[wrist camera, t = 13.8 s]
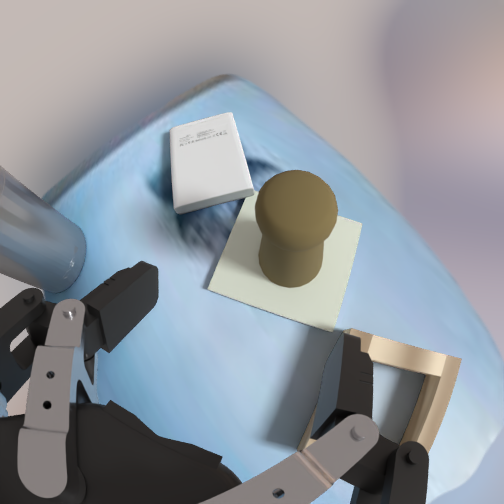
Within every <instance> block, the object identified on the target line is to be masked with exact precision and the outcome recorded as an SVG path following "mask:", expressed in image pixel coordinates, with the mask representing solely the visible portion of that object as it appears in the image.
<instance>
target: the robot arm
mask: <svg viewBox="0 0 504 504" xmlns="http://www.w3.org/2000/svg"><path fill="white" fill-rule="evenodd" d="M85 255H86V241H85V237H84V234H83V232H82V230H81V229H80V228H79V227H78V226H77V225H76V224H74V223H73V222H72V221H70V220H69V219H67V218H66V217H65V216H63V215H62V214H61V213H59V212H58V211H57V210H55V209H54V208H53V207H51V206H50V205H49V204H47V203H46V202H45V201H44V200H42V199H41V198H40V197H38V196H37V195H36V194H34V193H33V192H32V191H31V190H29V189H28V188H27V187H26V186H24V185H23V184H22V183H21V182H19V181H18V180H17V179H16V178H14V177H13V176H12V175H11V174H10V173H8V172H7V171H6V170H5V169H4V168H2V167H1V166H0V273H1V274H4V275H6V276H9V277H11V278H14V279H16V280H19V281H21V282H24V283H27V284H29V285H32V286H34V287H37V288H40V289H43V290H46V291H49V292H52V293H59V292H62V291H64V290H66V289H67V288H69V287H70V286H71V285H72V284H73V283H74V281H75V280H76V279H77V277H78V275H79V273H80V271H81V269H82V266H83V264H84V260H85ZM157 300H158V268H157V267H156V266H154V265H151V264H149V263H146V262H144V261H140V262H138V263H137V264H136V265H134V266H133V267H132V268H126V269H123V270H120V271H118V272H116V273H115V274H114V275H112V276H111V277H110V279H109V278H108V279H107V280H106V281H104V283H103V284H100V285H99V286H98V287H97V288H95V289H94V290H93V291H91V292H90V293H89V294H88V295H86V296H85V297H84V298H82V299H81V300H80V301H79V300H77V299H66V300H63V301H61V302H59V303H58V304H55V303H51V302H48V301H45V300H44V297H43V293H42V292H41V290H39V289H36V288H28V289H25V290H23V291H22V292H21V293H19V294H18V295H17V296H15V297H14V298H13V299H11V300H10V301H9V302H8V303H6V304H5V305H4V306H3V307H2V308H0V504H310V503H311V502H312V501H314V500H315V499H316V498H318V497H319V496H320V495H322V494H323V493H324V492H325V491H327V490H328V489H329V488H330V487H331V486H332V485H333V483H334V482H335V481H336V480H337V479H339V478H340V479H342V480H344V481H346V482H348V483H350V484H352V485H354V490H353V494H352V498H351V501H350V504H425V503H426V494H427V483H428V468H429V456H428V453H427V450H426V449H425V447H424V446H423V445H422V444H420V443H418V442H415V441H407V442H405V443H403V444H402V445H398V444H396V443H394V442H392V441H390V440H388V439H386V438H384V437H383V436H381V435H380V434H379V430H378V427H377V425H376V424H375V422H374V421H373V420H372V408H373V363H372V360H371V358H370V356H369V354H368V353H365V352H362V351H361V338H360V337H357V336H354V335H350V334H347V333H342V334H341V335H340V337H339V339H338V341H337V343H336V345H335V347H334V348H333V350H332V352H331V354H330V356H329V358H328V360H327V362H326V365H325V368H324V372H323V377H322V383H321V388H320V393H319V398H318V403H317V408H316V413H315V418H314V422H313V427H312V431H311V435H310V439H314V440H317V441H315V442H314V443H312V444H311V445H309V446H308V447H307V448H305V449H303V450H300V451H298V452H296V453H294V454H292V455H291V456H289V457H288V458H286V459H285V460H283V461H281V462H280V463H278V464H276V465H275V466H273V467H271V468H270V469H268V470H266V471H264V472H263V473H261V474H259V475H257V476H255V477H254V478H252V479H250V480H248V481H246V482H244V483H242V482H241V481H240V480H239V478H238V477H237V476H236V475H235V474H234V473H233V472H232V471H231V470H230V469H229V468H227V467H226V466H225V465H223V464H222V463H221V460H222V456H220V455H217V454H215V453H212V452H210V451H207V450H205V449H202V448H200V447H198V446H195V445H193V444H189V443H185V442H180V441H176V440H171V439H167V438H163V437H160V436H158V435H156V434H155V433H154V432H153V431H152V430H151V429H149V428H148V427H147V426H146V425H145V424H144V423H143V422H142V421H141V420H140V419H138V418H137V417H136V416H135V415H134V414H132V413H131V412H129V411H127V410H126V409H124V408H122V407H121V406H119V405H118V404H116V403H114V402H113V401H111V400H110V401H109V402H108V404H107V405H102V404H99V399H98V395H97V359H98V355H97V351H98V350H99V349H100V348H102V349H103V350H105V351H107V352H108V353H110V352H111V351H112V350H113V349H114V348H115V347H116V346H117V345H118V344H119V343H120V341H121V340H122V339H123V338H124V337H125V336H126V335H127V334H128V333H129V332H130V331H131V330H132V329H133V328H134V327H135V326H136V325H137V324H138V323H139V322H140V321H141V320H142V319H143V318H144V317H145V316H146V315H147V314H148V313H149V312H150V311H151V310H152V309H153V308H154V306H155V305H156V303H157ZM25 328H26V330H27V332H28V334H29V335H28V336H27V337H26V338H25V339H24V340H23V341H22V342H21V343H20V344H19V345H18V346H17V347H16V348H15V349H14V350H13V351H12V352H10V344H11V342H12V340H13V339H15V338H16V337H17V336H18V335H19V334H20V333H21V332H22V331H23V330H24V329H25ZM29 378H30V383H29V389H28V396H27V404H26V412H25V414H21V415H14V416H8V412H7V410H6V406H7V403H8V402H9V400H10V399H11V398H12V397H13V396H14V395H15V394H16V392H17V391H18V390H19V389H20V388H21V387H22V386H23V384H24V383H25V382H26V381H27V380H28V379H29Z"/></svg>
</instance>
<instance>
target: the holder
mask: <svg viewBox="0 0 504 504" xmlns="http://www.w3.org/2000/svg"><path fill="white" fill-rule="evenodd" d="M343 333H347V334H350V335H354V336H357V337H360V338H361V351H362V352H365V353H368V354H369V356H370V358H371V360H372V361H373V362H376V363H380V364H384V365H388V366H392V367H396V368H400V369H404V370H408V371H412V372H417V373H421V374H425V375H426V376H425V379H424V382H423V385H422V388H421V391H420V394H419V397H418V400H417V403H416V405H415V408H414V411H413V413H412V416H411V418H410V421H409V423H408V426H407V428H406V431H405V433H404V435H403V438H402V440H401V442H400V444H399V445H402V444H403V443H405V442H407V441H415V442H418V443H420V444H422V445H423V446H424V447H425V449H426V450H427V453H429V451H430V449H431V446H432V444H433V442H434V440H435V437H436V435H437V433H438V430H439V428H440V425H441V423H442V420H443V417H444V415H445V412H446V409H447V406H448V404H449V401H450V398H451V395H452V391H453V388H454V385H455V382H456V378H457V375H458V371H459V367H460V363H461V360H462V359H461V358H457V357H453V356H449V355H445V354H441V353H437V352H433V351H429V350H426V349H422V348H418V347H415V346H411V345H407V344H404V343H400V342H397V341H393V340H389V339H386V338H383V337H379V336H376V335H372V334H369V333H366V332H362V331H359V330H356V329H352V328H351V329H347V330H343ZM317 403H318V402H317ZM316 408H317V405H316V407H315V409H314V412H313V414H312V417H311V419H310V421H309V423H308V426H307V428H306V430H305V432H304V435H303V437H302V439H301V441H300V443H299V446H298V448H297V451H300V450H303V449H305V448H307V447H308V446H309V445H311V444H312V443H314V442H315V441H317V440H314V439H310V435H311V431H312V427H313V422H314V418H315V413H316Z"/></svg>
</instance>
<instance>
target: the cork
mask: <svg viewBox="0 0 504 504" xmlns="http://www.w3.org/2000/svg"><path fill="white" fill-rule="evenodd" d="M337 214H338V207H337V202H336V198H335V195H334V193H333V192H332V190H331V188H330V187H329V185H328V184H326V183H325V182H324V181H323V180H322V179H321V178H320V177H318V176H316V175H314V174H312V173H310V172H306V171H301V170H291V171H285V172H282V173H280V174H277V175H275V176H273V177H272V178H271V179H269V180H268V181H267V182H265V184H264V185H263V187H262V188H261V189H260V191H259V193H258V196H257V200H256V203H255V217H256V222H257V224H258V227H259V229H260V231H261V233H262V238H261V243H260V249H259V254H258V256H259V265H260V267H261V269H262V272H263V273H264V275H265V276H266V277H267V278H268V279H269V280H270V281H271V282H273V283H275V284H277V285H278V286H282V287H287V288H295V287H301V286H303V285H305V284H308V283H309V282H311V281H312V280H313V279H314V278H315V277H316V276H317V274H318V273H319V271H320V269H321V267H322V261H323V251H324V241H325V240H326V239H327V238H328V237H329V236H330V234H331V232H332V230H333V228H334V227H335V224H336V222H337Z"/></svg>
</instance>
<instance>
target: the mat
mask: <svg viewBox="0 0 504 504" xmlns="http://www.w3.org/2000/svg"><path fill="white" fill-rule="evenodd" d="M258 193H259V192H257V191H254V195H253V196H250V197H246V198H245V201H244V203H243V205H242V208H241V210H240V212H239V215H238V217H237V219H236V222H235V224H234V226H233V229H232V231H231V233H230V236H229V238H228V241H227V243H226V245H225V248H224V250H223V253H222V255H221V257H220V260H219V262H218V265H217V267H216V270H215V272H214V274H213V277H212V279H211V282H210V284H209V287H208V290H210V291H212V292H215V293H218V294H220V295H223V296H226V297H228V298H231V299H234V300H237V301H239V302H242V303H245V304H248V305H250V306H253V307H256V308H259V309H262V310H265V311H268V312H270V313H273V314H276V315H279V316H282V317H285V318H288V319H291V320H294V321H297V322H300V323H303V324H306V325H309V326H313V327H316V328H319V329H322V330H325V331H328V332H333V330H334V327H335V324H336V321H337V317H338V314H339V311H340V308H341V304H342V301H343V298H344V294H345V291H346V287H347V283H348V280H349V276H350V272H351V269H352V265H353V261H354V257H355V253H356V249H357V245H358V240H359V236H360V232H361V227H362V223H359V222H356V221H353V220H350V219H347V218H344V217H341V216H338V215H337V222H336V224H335V227H334V228H333V230H332V232H331V234H330V236H329V237H328V238H327V239H326V240H325V241H324V251H323V261H322V267H321V269H320V271H319V273H318V274H317V276H316V277H315V278H314V279H313V280H312V281H311V282H309V283H308V284H305V285H303V286H301V287H295V288H287V287H282V286H278V285H277V284H275V283H273V282H271V281H270V280H269V279H268V278H267V277H266V276H265V275H264V273H263V272H262V269H261V267H260V265H259V256H258V254H259V249H260V243H261V238H262V233H261V231H260V229H259V227H258V224H257V222H256V217H255V203H256V200H257V196H258Z"/></svg>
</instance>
